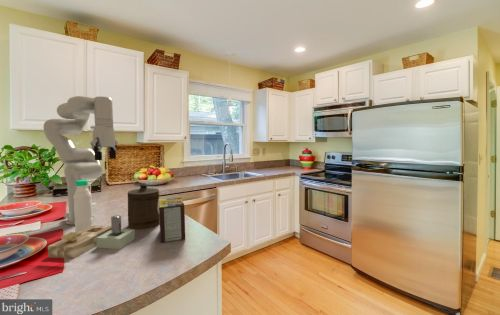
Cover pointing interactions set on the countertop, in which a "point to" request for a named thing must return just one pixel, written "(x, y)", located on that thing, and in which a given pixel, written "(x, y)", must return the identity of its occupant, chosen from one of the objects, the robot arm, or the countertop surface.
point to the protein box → (171, 219)
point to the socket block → (77, 243)
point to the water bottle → (82, 206)
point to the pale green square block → (115, 239)
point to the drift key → (71, 237)
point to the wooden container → (143, 208)
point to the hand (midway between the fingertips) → (105, 159)
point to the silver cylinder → (116, 225)
